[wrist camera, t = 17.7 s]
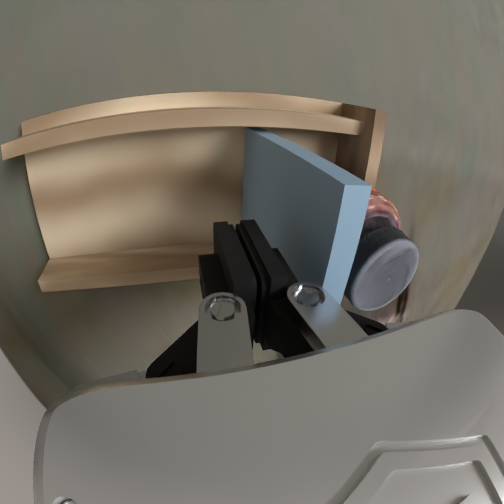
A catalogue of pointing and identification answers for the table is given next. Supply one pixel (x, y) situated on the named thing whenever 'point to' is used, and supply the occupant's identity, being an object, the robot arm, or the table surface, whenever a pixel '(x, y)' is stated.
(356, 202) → the pusher plate
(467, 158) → the table surface
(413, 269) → the supplement bottle
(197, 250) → the lane tray
